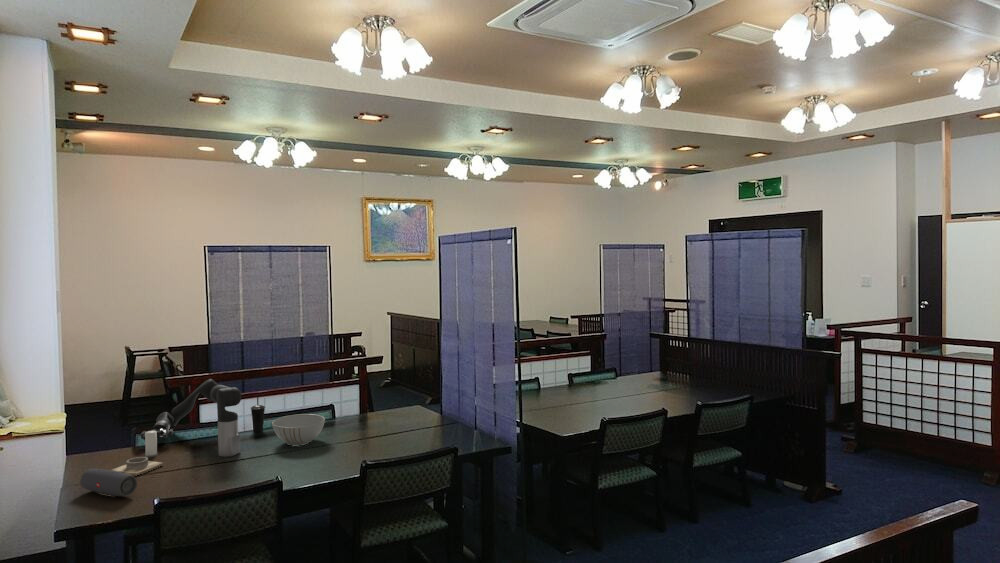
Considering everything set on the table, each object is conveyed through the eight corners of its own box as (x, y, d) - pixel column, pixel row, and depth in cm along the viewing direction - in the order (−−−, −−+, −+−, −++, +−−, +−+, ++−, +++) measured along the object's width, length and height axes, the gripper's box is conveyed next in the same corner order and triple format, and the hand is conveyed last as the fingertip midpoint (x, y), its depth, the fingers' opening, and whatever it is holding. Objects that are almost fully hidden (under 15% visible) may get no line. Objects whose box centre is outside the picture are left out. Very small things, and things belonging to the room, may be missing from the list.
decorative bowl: (284, 454, 311) (284, 430, 310) (264, 442, 331) (264, 419, 331) (334, 443, 329) (333, 421, 328) (312, 432, 349) (311, 411, 348)
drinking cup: (268, 429, 354) (267, 395, 353) (259, 433, 347) (258, 398, 346) (257, 428, 356) (256, 394, 355) (247, 432, 349) (247, 397, 348)
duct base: (163, 465, 294) (163, 456, 294) (136, 476, 280) (136, 466, 279) (138, 462, 298) (138, 453, 298) (110, 473, 284) (110, 463, 284)
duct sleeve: (159, 454, 310) (159, 431, 309) (151, 458, 305) (150, 434, 304) (151, 453, 311) (151, 430, 311) (142, 457, 306) (142, 433, 306)
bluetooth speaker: (78, 495, 259) (78, 471, 258) (100, 487, 267) (99, 464, 267) (118, 503, 251) (117, 478, 250) (138, 494, 259) (138, 471, 259)
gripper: (175, 434, 334) (170, 443, 319) (145, 437, 330) (138, 446, 314) (175, 420, 334) (169, 429, 318) (145, 423, 329) (138, 431, 314)
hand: (154, 437), depth 316 cm, fingers open, 8 cm apart
